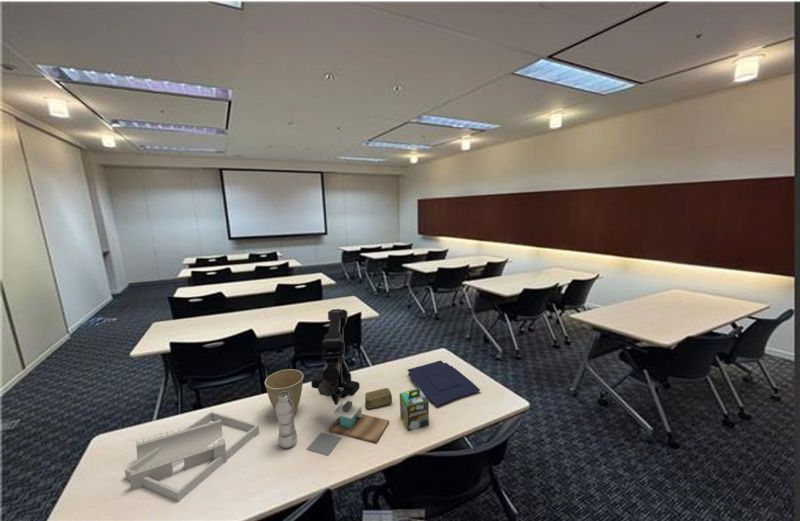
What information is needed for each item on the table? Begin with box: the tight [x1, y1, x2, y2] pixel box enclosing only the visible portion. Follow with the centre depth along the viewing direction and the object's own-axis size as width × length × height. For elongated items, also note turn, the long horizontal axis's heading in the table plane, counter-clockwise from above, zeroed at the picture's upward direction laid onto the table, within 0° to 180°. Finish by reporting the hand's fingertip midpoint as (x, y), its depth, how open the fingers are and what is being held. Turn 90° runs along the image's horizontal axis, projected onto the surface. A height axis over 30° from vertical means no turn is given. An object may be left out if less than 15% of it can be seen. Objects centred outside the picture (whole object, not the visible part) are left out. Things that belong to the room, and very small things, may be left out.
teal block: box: [339, 414, 357, 429], centre depth 124 cm, size 4×4×6 cm
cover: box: [332, 400, 363, 419], centre depth 123 cm, size 8×8×7 cm
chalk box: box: [399, 387, 430, 432], centre depth 124 cm, size 9×9×15 cm
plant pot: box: [264, 368, 304, 416], centre depth 131 cm, size 15×15×16 cm
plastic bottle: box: [274, 391, 298, 449], centre depth 113 cm, size 6×7×20 cm
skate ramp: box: [130, 417, 227, 491], centre depth 106 cm, size 25×19×10 cm
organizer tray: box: [124, 410, 260, 502], centre depth 110 cm, size 25×31×4 cm
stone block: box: [364, 387, 393, 410], centre depth 136 cm, size 6×12×5 cm, turn 107°
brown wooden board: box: [328, 413, 390, 445], centre depth 122 cm, size 20×12×2 cm, turn 69°
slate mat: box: [306, 431, 342, 457], centre depth 114 cm, size 9×9×1 cm
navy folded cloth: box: [406, 359, 481, 406], centre depth 151 cm, size 24×30×4 cm
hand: (336, 404), depth 125 cm, fingers closed
